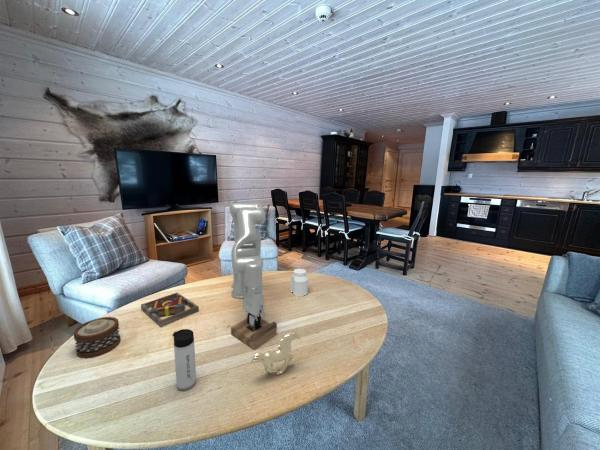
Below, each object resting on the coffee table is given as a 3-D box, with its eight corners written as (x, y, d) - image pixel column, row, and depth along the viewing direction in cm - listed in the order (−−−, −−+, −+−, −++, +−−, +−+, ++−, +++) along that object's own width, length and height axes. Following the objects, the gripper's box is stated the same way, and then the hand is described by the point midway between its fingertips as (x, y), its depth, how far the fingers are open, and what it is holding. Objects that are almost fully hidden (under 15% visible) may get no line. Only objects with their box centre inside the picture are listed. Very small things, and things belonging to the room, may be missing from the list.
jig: (231, 334, 113) (230, 323, 112) (253, 321, 124) (253, 310, 123) (253, 350, 104) (253, 337, 103) (276, 334, 115) (276, 323, 114)
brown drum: (113, 329, 97) (64, 338, 91) (116, 353, 99) (68, 363, 93) (122, 311, 110) (81, 317, 104) (125, 332, 112) (84, 340, 106)
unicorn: (252, 387, 85) (251, 344, 82) (248, 379, 89) (248, 337, 86) (301, 368, 95) (303, 328, 92) (296, 361, 98) (298, 323, 95)
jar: (309, 295, 155) (310, 273, 152) (295, 297, 151) (296, 275, 148) (301, 287, 165) (302, 267, 162) (288, 290, 161) (289, 268, 158)
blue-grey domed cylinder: (247, 330, 113) (247, 314, 112) (254, 326, 116) (254, 311, 115) (253, 334, 111) (253, 318, 109) (259, 330, 114) (259, 314, 113)
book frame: (141, 309, 132) (140, 304, 131) (177, 297, 147) (177, 292, 146) (160, 327, 117) (160, 321, 116) (198, 311, 132) (198, 306, 131)
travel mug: (180, 376, 89) (176, 327, 85) (198, 376, 89) (196, 327, 86) (172, 391, 83) (168, 339, 79) (192, 390, 83) (189, 338, 79)
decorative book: (154, 308, 134) (153, 300, 133) (186, 302, 140) (185, 294, 139) (150, 319, 124) (149, 310, 123) (185, 313, 130) (184, 304, 129)
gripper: (235, 285, 112) (236, 321, 115) (260, 297, 102) (260, 336, 105) (248, 280, 118) (248, 314, 121) (273, 291, 108) (272, 328, 111)
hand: (253, 324), depth 113 cm, fingers open, 4 cm apart
